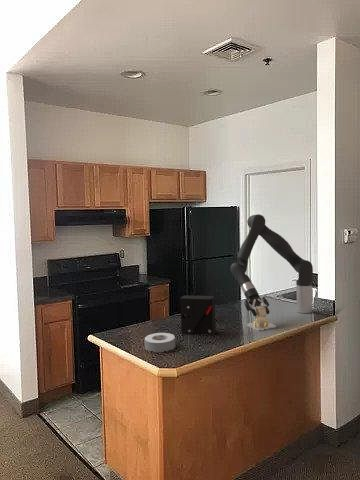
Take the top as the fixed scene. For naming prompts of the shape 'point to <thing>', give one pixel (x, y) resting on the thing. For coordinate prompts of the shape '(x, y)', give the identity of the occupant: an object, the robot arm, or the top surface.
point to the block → (260, 315)
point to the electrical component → (198, 315)
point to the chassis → (257, 327)
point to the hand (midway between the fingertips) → (262, 314)
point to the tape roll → (160, 342)
